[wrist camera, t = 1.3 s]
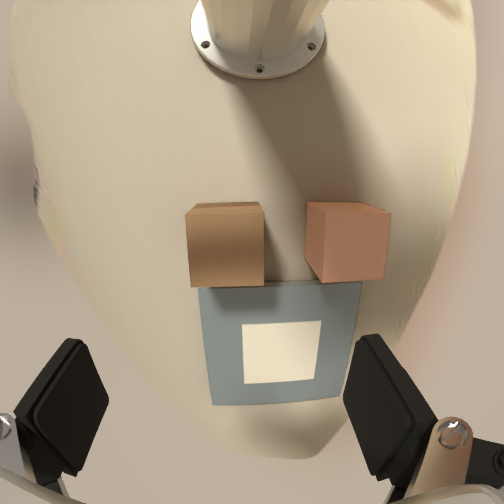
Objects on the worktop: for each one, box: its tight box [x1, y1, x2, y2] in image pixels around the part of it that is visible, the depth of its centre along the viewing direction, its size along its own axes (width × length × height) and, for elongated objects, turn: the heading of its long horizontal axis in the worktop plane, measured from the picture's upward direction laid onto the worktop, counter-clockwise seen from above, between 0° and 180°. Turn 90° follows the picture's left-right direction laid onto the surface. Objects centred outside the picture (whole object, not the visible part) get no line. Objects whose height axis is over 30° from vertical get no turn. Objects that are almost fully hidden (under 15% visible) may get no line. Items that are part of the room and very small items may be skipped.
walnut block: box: [185, 202, 264, 287], centre depth 23 cm, size 6×6×6 cm
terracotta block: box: [305, 202, 391, 283], centre depth 24 cm, size 6×6×6 cm
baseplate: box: [198, 280, 362, 405], centre depth 29 cm, size 16×16×1 cm
